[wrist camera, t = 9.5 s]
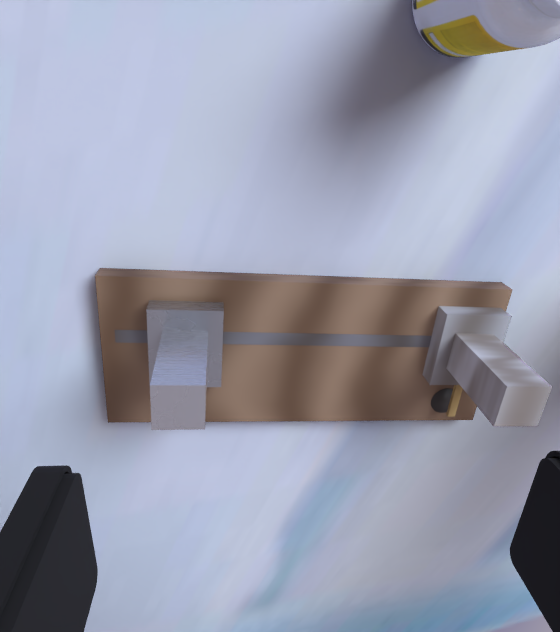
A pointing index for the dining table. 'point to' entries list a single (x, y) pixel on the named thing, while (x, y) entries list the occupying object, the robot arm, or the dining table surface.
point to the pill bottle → (486, 25)
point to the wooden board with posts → (328, 348)
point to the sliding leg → (183, 360)
